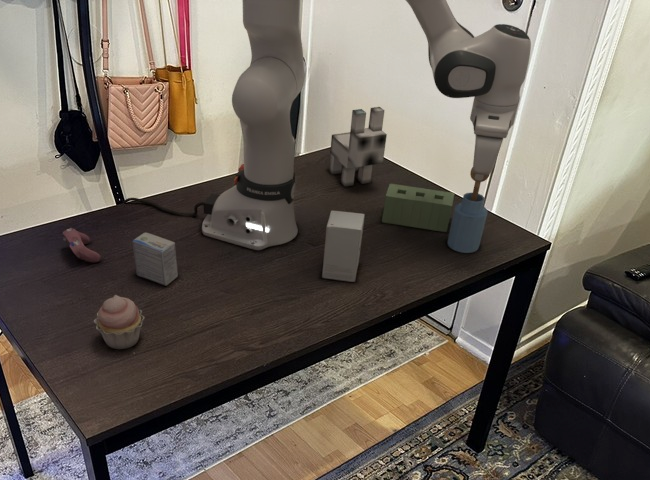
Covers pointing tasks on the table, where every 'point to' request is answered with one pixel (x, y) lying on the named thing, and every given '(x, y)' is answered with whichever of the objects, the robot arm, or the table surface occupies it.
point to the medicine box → (155, 258)
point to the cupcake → (119, 322)
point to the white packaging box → (342, 245)
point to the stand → (417, 207)
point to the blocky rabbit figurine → (358, 147)
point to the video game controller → (80, 245)
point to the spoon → (476, 185)
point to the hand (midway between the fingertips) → (478, 176)
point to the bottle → (467, 224)
